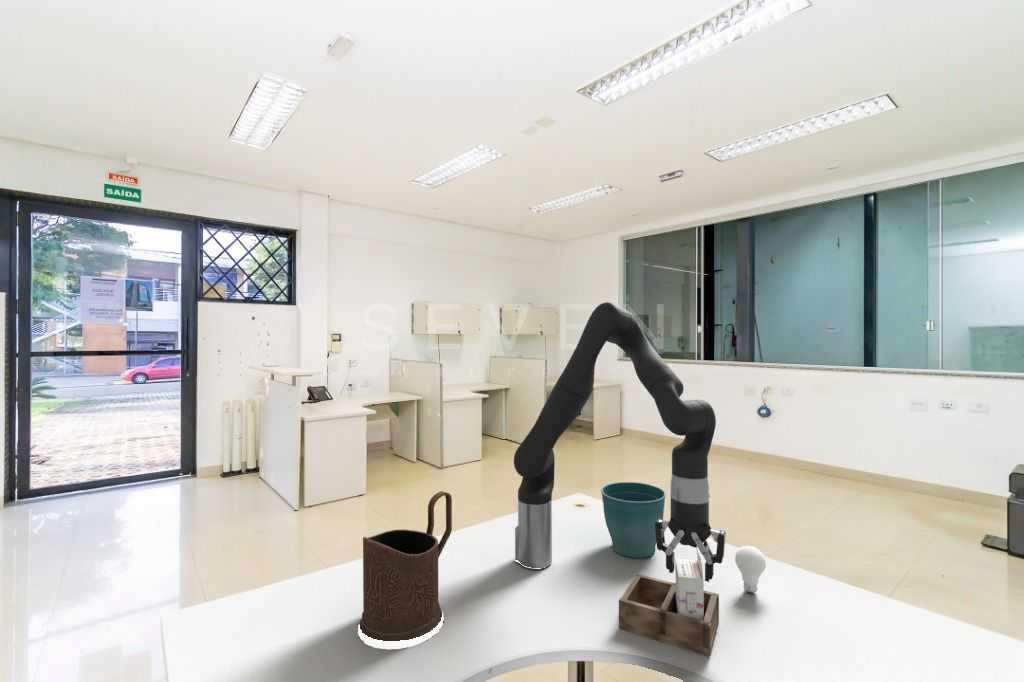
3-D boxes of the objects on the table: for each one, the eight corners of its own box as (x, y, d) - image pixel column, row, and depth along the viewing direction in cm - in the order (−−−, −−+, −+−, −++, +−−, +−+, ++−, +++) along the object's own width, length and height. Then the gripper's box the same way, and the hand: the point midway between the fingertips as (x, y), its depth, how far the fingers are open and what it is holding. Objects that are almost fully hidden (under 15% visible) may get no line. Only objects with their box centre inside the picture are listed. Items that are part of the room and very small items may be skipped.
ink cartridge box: (674, 610, 104) (674, 543, 104) (698, 613, 103) (698, 545, 103) (678, 634, 96) (678, 561, 96) (704, 637, 95) (704, 564, 95)
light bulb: (763, 588, 116) (763, 543, 116) (768, 602, 110) (768, 554, 110) (733, 583, 118) (733, 539, 118) (736, 597, 112) (736, 550, 112)
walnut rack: (618, 628, 100) (618, 600, 100) (635, 598, 112) (635, 573, 112) (710, 657, 91) (710, 625, 91) (718, 621, 102) (718, 594, 102)
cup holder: (338, 627, 101) (337, 510, 101) (423, 581, 120) (423, 482, 120) (395, 663, 90) (394, 531, 90) (479, 606, 109) (478, 497, 109)
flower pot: (600, 560, 131) (599, 499, 131) (602, 534, 148) (602, 479, 148) (668, 567, 127) (668, 503, 127) (662, 539, 144) (662, 483, 144)
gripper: (650, 495, 100) (650, 574, 100) (724, 507, 92) (724, 593, 92) (658, 485, 106) (658, 560, 106) (729, 496, 99) (729, 576, 99)
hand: (689, 575), depth 99 cm, fingers open, 6 cm apart
